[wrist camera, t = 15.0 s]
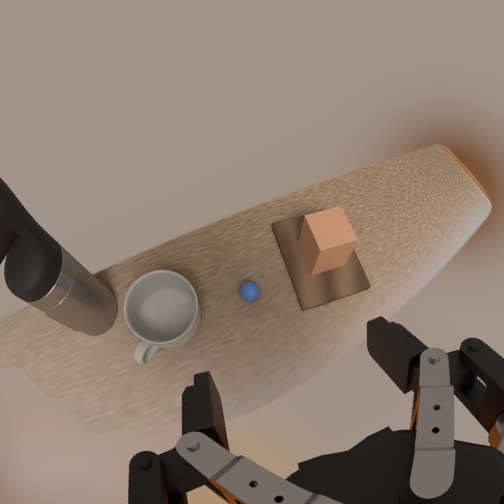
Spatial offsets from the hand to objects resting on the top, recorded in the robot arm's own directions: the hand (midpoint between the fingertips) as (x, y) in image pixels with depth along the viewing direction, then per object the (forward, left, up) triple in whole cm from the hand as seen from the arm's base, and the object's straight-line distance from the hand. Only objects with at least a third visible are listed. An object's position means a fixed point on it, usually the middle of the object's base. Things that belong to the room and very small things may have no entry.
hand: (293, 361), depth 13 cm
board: (+14, +18, -31) cm, 38 cm away
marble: (+1, +15, -31) cm, 34 cm away
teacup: (-13, +13, -31) cm, 36 cm away
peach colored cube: (+14, +17, -29) cm, 37 cm away
